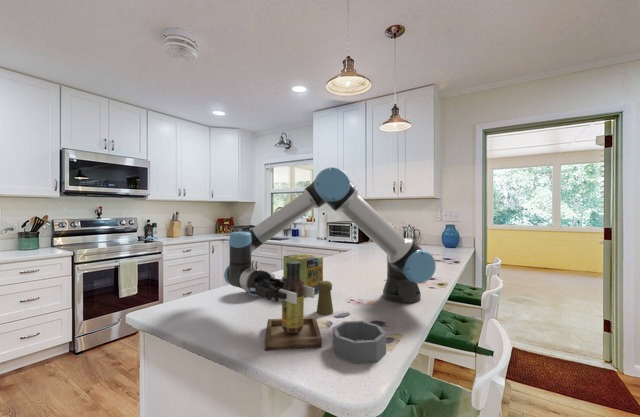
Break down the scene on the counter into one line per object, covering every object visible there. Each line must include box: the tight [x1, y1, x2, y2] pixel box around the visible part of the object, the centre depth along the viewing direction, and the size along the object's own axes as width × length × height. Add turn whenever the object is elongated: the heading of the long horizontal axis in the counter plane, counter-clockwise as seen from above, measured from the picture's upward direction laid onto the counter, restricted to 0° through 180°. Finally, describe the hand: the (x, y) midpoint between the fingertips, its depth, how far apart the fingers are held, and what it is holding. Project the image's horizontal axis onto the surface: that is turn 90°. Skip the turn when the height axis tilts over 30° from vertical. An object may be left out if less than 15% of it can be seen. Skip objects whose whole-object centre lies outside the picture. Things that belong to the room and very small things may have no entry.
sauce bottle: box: [281, 261, 305, 333], centre depth 84 cm, size 6×6×20 cm
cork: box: [316, 280, 334, 316], centre depth 103 cm, size 6×6×11 cm
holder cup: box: [332, 320, 387, 365], centre depth 76 cm, size 13×13×5 cm
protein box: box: [282, 253, 324, 298], centre depth 129 cm, size 10×15×16 cm
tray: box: [264, 316, 323, 352], centre depth 84 cm, size 15×15×2 cm
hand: (304, 295), depth 81 cm, fingers closed on sauce bottle, 6 cm apart
